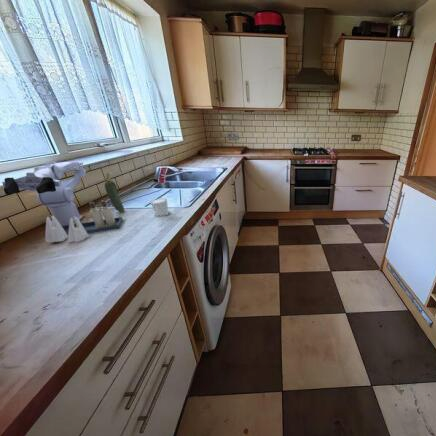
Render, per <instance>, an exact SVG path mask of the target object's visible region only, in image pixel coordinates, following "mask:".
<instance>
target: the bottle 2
mask: <svg viewBox="0 0 436 436" xmlns="http://www.w3.org/2000/svg"><path fill="white" fill-rule="evenodd" d="M100 204H101V209H100V212H101V215H102V217H103V219H104V220H105V221H106V224H107V226H114V225H117V224H116V221H115V219H114V218H115V216H114V214H113V211H112V208H111V207H110V206H108V204H107V203H106V200H100Z"/></svg>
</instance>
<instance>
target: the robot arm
mask: <svg viewBox="0 0 436 436" xmlns="http://www.w3.org/2000/svg"><path fill="white" fill-rule="evenodd" d="M83 164H84V162H83V161H81V160H79V161H63V162H56V161H50V162H49V163H45V165H39V166H34V168H33V171H30V172H26V173H25V176H20V177H17V178H15V177H5V178H4V179H3V180H4V181H2V182H1V183H2V186H3V191H4V195H6V196H7V195H9V196H10V195H13V194H19V193H20V194H21V190H24V191H25V190H26V191H32V192H36V199H37V201H38V202H39V203H40V204H41V205H42V206H45V208H48V209H49V211H50V213H51V216H54V217H55V218H56V219H57V221H58V222H59V223H60V225H61V226H66V225H69V222H70V218H72V219H73V223H74V224H75V220H74V217H77V218H78V220H79V221H80V220H81V219H82V218H83V216H84V215H83V214H82V215H81V214H80V212H79V209H78V208H77V206H76V203H74V202H73V201H74V200H75V199H74V198H75V193H74V190H75V189H76V188H77V187H78V186H79V185H80V182H81V180H80V178H81V179H82V178H84V177H85V176H86V175H87V170H85V169H86V168H85V169H84V168H83V167H81V165H83ZM78 166H79V167H78ZM74 167H76V169H75V171H78V172H75V174H74V176H73V178H70V179H67V180H64V181H62V179H61V178H62V175H63V174H64V173H65V172H66V170H69V169H71V168H74ZM78 184H79V185H78Z"/></svg>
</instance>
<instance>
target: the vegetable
mask: <svg viewBox="0 0 436 436" xmlns="http://www.w3.org/2000/svg"><path fill="white" fill-rule="evenodd" d="M117 187H118V186H117V184H116V182H114V181H113V180H112V177H111V174H110V172H108V171H107V172H106V174H105V182H104V189H105V192H106V194H107V197H108V198H109V200H110V203H111V204H112V207H113V208H114V209H115V211H117V212H119V213H123V212H124V211H125V207H124V205H123V203H122V201H121V199H120V197H119V195H118V188H117Z"/></svg>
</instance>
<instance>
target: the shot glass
mask: <svg viewBox="0 0 436 436" xmlns="http://www.w3.org/2000/svg"><path fill="white" fill-rule="evenodd" d="M150 205H151V207H152V210H153V212H154V215H155V216H157V217H166V216H168V215H169V206H168V199H167V198H156V199H153V200H151V201H150Z"/></svg>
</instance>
